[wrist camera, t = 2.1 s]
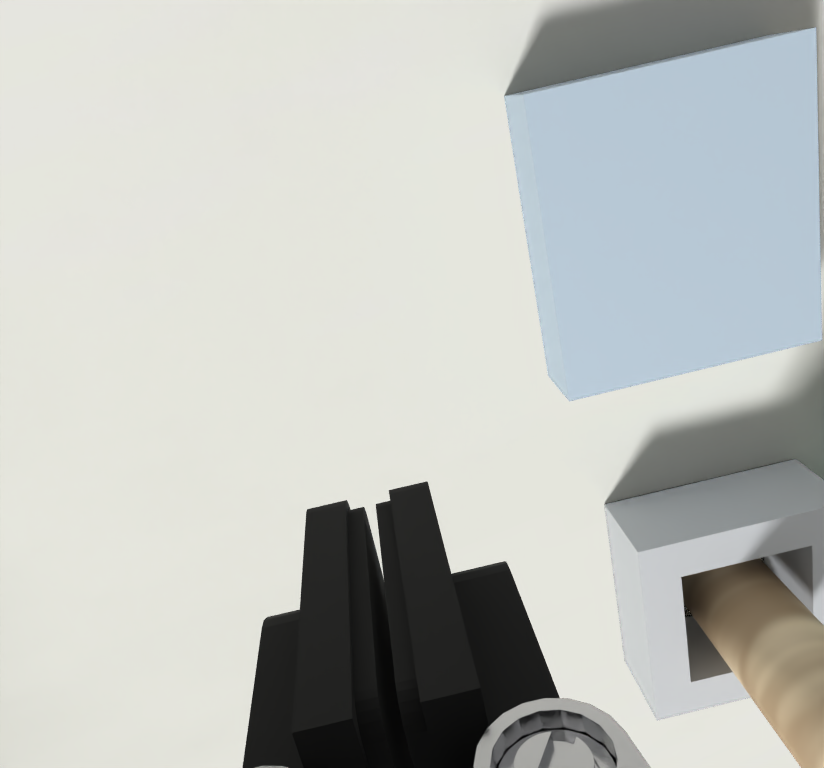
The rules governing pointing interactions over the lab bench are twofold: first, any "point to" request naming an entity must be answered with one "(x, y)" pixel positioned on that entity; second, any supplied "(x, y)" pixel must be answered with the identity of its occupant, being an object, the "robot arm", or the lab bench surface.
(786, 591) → the dowel
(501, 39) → the lab bench surface
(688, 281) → the board
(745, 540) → the socket block
